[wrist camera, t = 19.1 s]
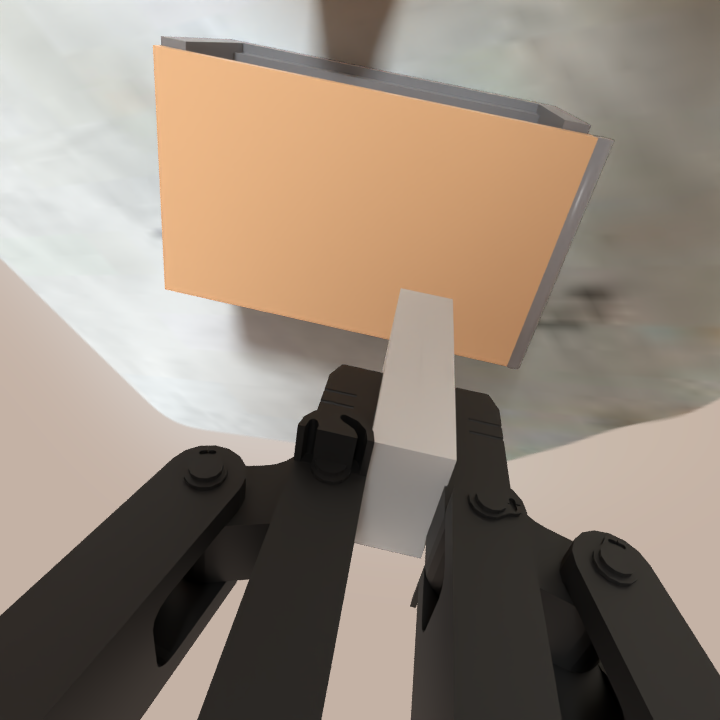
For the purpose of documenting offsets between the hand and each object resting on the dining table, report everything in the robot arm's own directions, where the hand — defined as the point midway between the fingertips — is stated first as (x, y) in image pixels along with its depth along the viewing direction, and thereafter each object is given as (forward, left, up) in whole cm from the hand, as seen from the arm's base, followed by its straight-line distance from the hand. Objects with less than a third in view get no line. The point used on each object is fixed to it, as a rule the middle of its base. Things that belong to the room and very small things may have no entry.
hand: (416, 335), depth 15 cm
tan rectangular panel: (0, +6, -9) cm, 10 cm away
